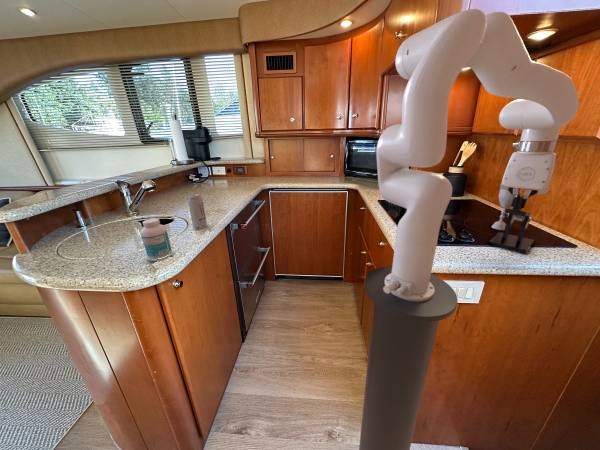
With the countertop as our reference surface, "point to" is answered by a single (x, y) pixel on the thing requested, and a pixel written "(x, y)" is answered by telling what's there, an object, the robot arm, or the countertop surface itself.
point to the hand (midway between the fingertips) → (516, 209)
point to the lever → (517, 214)
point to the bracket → (513, 237)
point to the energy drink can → (197, 211)
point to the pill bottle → (155, 240)
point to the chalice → (505, 202)
